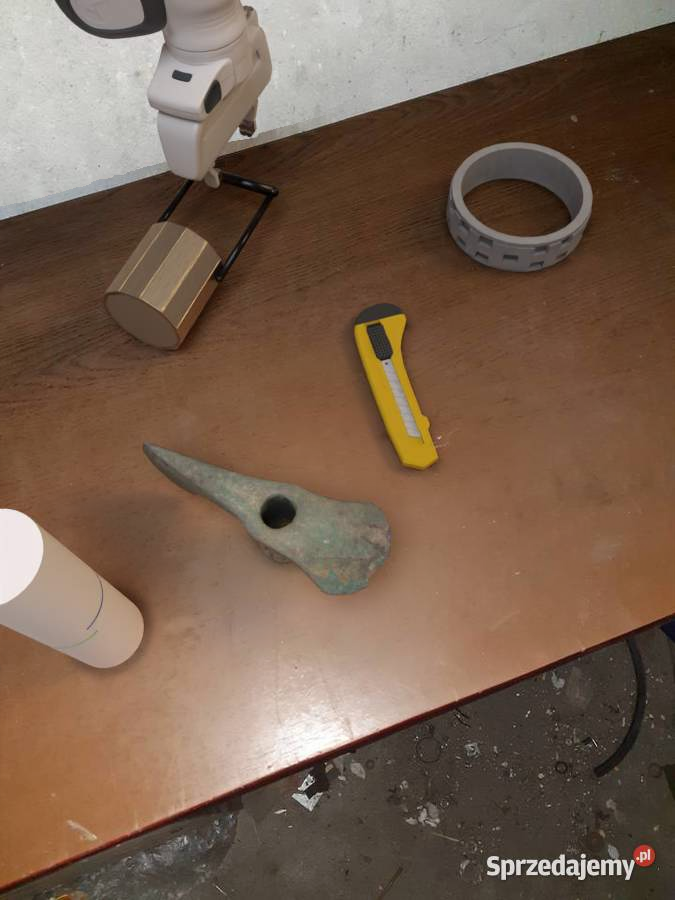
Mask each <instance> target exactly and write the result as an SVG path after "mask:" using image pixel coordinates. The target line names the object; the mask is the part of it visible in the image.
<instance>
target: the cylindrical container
mask: <svg viewBox="0 0 675 900" xmlns="http://www.w3.org/2000/svg"><path fill="white" fill-rule="evenodd" d="M0 625H1V626H3V627H6V628H9V629H10V630H13V631H14V632H17V633H19V634H21V635H23V636H25V637H27V638H29V639H32V640H34V641H36V642H39V643H41V644H42V645H45V646H47V647H49V648H51V649H54V650H55V651H58V652H60V653H62V654H65V655H67V656H69V657H71V658H73V659H74V660H78V661H79V662H82V663H84V664H86V665H89V666H91V667H93V668H98V669H109V668H114V667H116V666H119V665H121V664H123V663H124V662H126V661H127V660H129V659H130V658H131V657H132V656H133V655H134V654H135V652H136V651H137V650H138V648H139V647H140V644H141V643H142V640H143V636H144V630H145V626H144V625H145V623H144V618H143V615H142V613H141V611H140V609H139V608H138V607H137V605H135V603H133V602H132V601H131V600H130V599H129V598H128V597H126V595H124V594H123V593H122V592H121V591H119V590H118V589H116V588H115V586H113V585H112V584H111V583H109V582H108V581H107V580H106V579H105V578H103V577H102V576H101V575H100V574H99V573H97V572H96V571H95V570H94V569H93V568H92V567H91V566H89V565H88V564H86V563H85V562H84V561H83V560H82V559H80V558H79V557H78V556H77V555H76V554H74V553H73V552H72V551H71V550H70V549H68V547H66V546H65V545H64V544H62V543H61V542H60V541H59V540H57V539H56V538H55V537H54V536H53V535H52V534H51V533H49V532H48V531H46V530H45V528H43V527H42V526H40V524H38V523H37V522H36V521H35V520H34V519H32V518H31V517H29V516H28V515H26V514H25V513H23V512H20V511H18V510H17V509H16V510H15V509H11V508H0Z"/></svg>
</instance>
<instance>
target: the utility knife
mask: <svg viewBox="0 0 675 900" xmlns="http://www.w3.org/2000/svg"><path fill="white" fill-rule="evenodd" d="M354 323H355V324H354V340H355V344H356V347H357V352H358V355H359V357H360V361H361V364H362V367H363V370H364V374H365V376H366V380H367V382H368V384H369V387H370V390H371V393H372V396H373V399H374V402H375V404H376V407H377V409H378V412H379V415H380V417H381V420H382V421H383V425H384V427H385V430H386V433H387V434H388V436H389V440H390V442H391V444H392V446H393V448H394V450H395V452H396V454H397V456H398V458H399V461H400V463H401V465H402V466H403V467H405V468H412V469H415V470H421V471H425V470H426V469H427V468H429V467H430V466H432V465H433V464H435V463H436V462H437V461H438V460H439V455H438V451H437V449H436V447H435V445H434V442H433V439H432V436H431V434H430V433H431V432H430V431H429V429H430V427H431V426H430V425H431V424H430V420H429V418H428V416H425V415H423V413H422V411H421V408H420V405H419V403H418V400H417V398H416V395H415V393H414V390H413V387H412V384H411V382H410V379H409V377H408V374H407V370H406V368H405V364H404V360H403V354H402V349H401V348H402V341H403V336H404V332H405V328H406V324H407V318H406V315H405V313H404V312H403V310H402V309H401V308H400V307H399V306H396V305H395V304H393V303H388V302H382V303H376V304H374V305H372V306H369V307H367V308H365V309H364V310H362V311H361V312H360V314H359V315H358V316H357V317H356V320H355V322H354Z"/></svg>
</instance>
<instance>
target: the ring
mask: <svg viewBox="0 0 675 900" xmlns="http://www.w3.org/2000/svg"><path fill="white" fill-rule="evenodd" d="M503 179H516V180H524V181H528V182H532V183H535V184H537V185H540V186H542V187H545V189H547V190H549V191H550V192H552V193H554V194H555V195H556V196H558V198H559V199H560V200H561V201H562V202H563V203H564V205H565V206H566V208H567V210H568V212H569V214H570V218H571V222H570V223H569V224H567V225H566V226H565V227H562V228H561V229H559V230H557V231H554V232H552V233H549V234H545V235H538V236H517V235H511V234H507V233H503V232H500V231H496V230H495V229H493V228H491V227H488V226H487V225H485V224H484V223H483V222H481V221H479V220H478V219H477V218H476V217H475V216H474V215H473V214H472V213H471V212H470V211H469V209H468V207H467V206H466V204H465V201H464V198H465V196H466V195H467V194H469V192H470V191H472V190H473V189H474V188H476V187H478V186H480V185H482V184H484V183H488V182H491V181H495V180H503ZM593 196H594V195H593V191H592V185H591V183H590V181H589V179H588V177H587V175H586V174H585V173H584V171H583V170H582V169H581V168H580V166H579V165H578V164H577V163H576V162H574V161H573V160H572V159H571V158H569V157H568V156H566V155H565V154H563V153H561V152H560V151H557V150H556V149H552V148H550V147H547V146H545V145H540V144H537V143H530V142H524V141H523V142H520V141H519V142H518V141H517V142H514V141H512V142H511V141H510V142H502V143H495V144H493V145H489V146H487V147H483V148H481V149H479V150H477V151H475V152H474V153H472V154H470V156H468V157H467V158H465V160H464V161H463V162H462V163H461V164H460V165H459V167H458V168H457V170H456V171H455V172H454V174H453V176H452V178H451V182H450V185H449V191H448V197H447V203H446V204H447V205H446V211H445V214H446V215H445V216H446V223H447V227H448V230H449V233H450V235H451V237H452V238H453V240H454V242H455V243H456V245H457V246H458V247H459V248H460V249H461V250H462V251H463V252H464V253H465V254H466V255H467V256H468V257H470V258H472V259H473V260H474V261H477V262H478V263H481V264H482V265H484V266H487V267H490V268H493V269H497V270H501V271H506V272H512V273H513V272H514V273H518V272H519V273H521V272H522V273H525V272H526V273H528V272H534V271H539V270H543V269H546V268H549V267H552V266H554V265H556V264H557V263H559V262H561V261H563V260H564V259H565V258H566V257H568V256H569V255H570V254H571V253H572V252H573V251H574V250H575V249H576V248H577V246H578V245H579V243H580V242H581V239H582V236H583V234H584V232H585V230H586V227H587V225H588V222H589V219H590V217H591V215H592V211H593V209H592V206H593V201H594V197H593Z"/></svg>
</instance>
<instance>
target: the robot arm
mask: <svg viewBox="0 0 675 900" xmlns="http://www.w3.org/2000/svg"><path fill="white" fill-rule="evenodd" d="M54 1H55V4H56V5H57V6H58V8H59V10H60V11H61V12H62V13H63V14H64V15H65V17H66V18H67V19H68V20H69V21H70V22H71V23H72V24H73V25H75V26H76V27H78V28H79V29H80V30H82V31H83V32H85V33H87V34H89V35H91V36H94V37H98V38H100V39H106V40H119V39H120V40H121V39H130V38H137V37H138V38H139V37H143V36H148V35H154V34H156V33H159V32H161V33H162V36H163V39H164V42H163V44H162V46H161V49H160V54H159V58H158V62H157V65H156V69H155V71H154V74H153V76H152V78H151V81H150V83H149V86H148V88H147V93H146V96H147V101H148V103H149V106H150V108H152V109H154V110H156V111H158V112H157V116H156V117H157V118H156V126H157V127H156V128H157V133H158V137H159V140H160V144H161V148H162V152H163V155H164V158H165V161H166V163H167V166H168V168H169V170H170V172H171V173H172V174H174V175H175V176H178V177H180V178H183V179H186V180H187V179H190V180H194V182H201V181H202V180H204V183H205V185H207V186H208V187H210V188H213V189H218V188H219V186H220V184H221V183H222V182H221V181H222V180H223V176H222V171H223V170H222V169H221V168H217V167H215V165H216V160H217V159H218V157H219V156H220V155H221V153H222V151H223V150H224V148H225V147H226V146H227V144H228V143H229V141H230V140H231V138H232V137H233V136H234V134H235V132H236V131H237V129H238V131H239V134H240V135H241V136H243V137H247V138H252V137H253V135H254V134H255V132H256V131H257V129H258V127H257V121H256V118H257V113H258V106H259V97H260V96H261V95H262V94H263V92H264V90H265V89H266V87H267V86H268V84H269V83H270V81H271V79H272V73H273V63H272V59H271V53H270V48H269V43H268V40H267V35H266V33H265V31H264V29H263V28H262V26H260V24H259V17H258V12H257V10H256V9H255V8H254V7H253V6H252V5H243V4H242V1H241V0H54Z"/></svg>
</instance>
